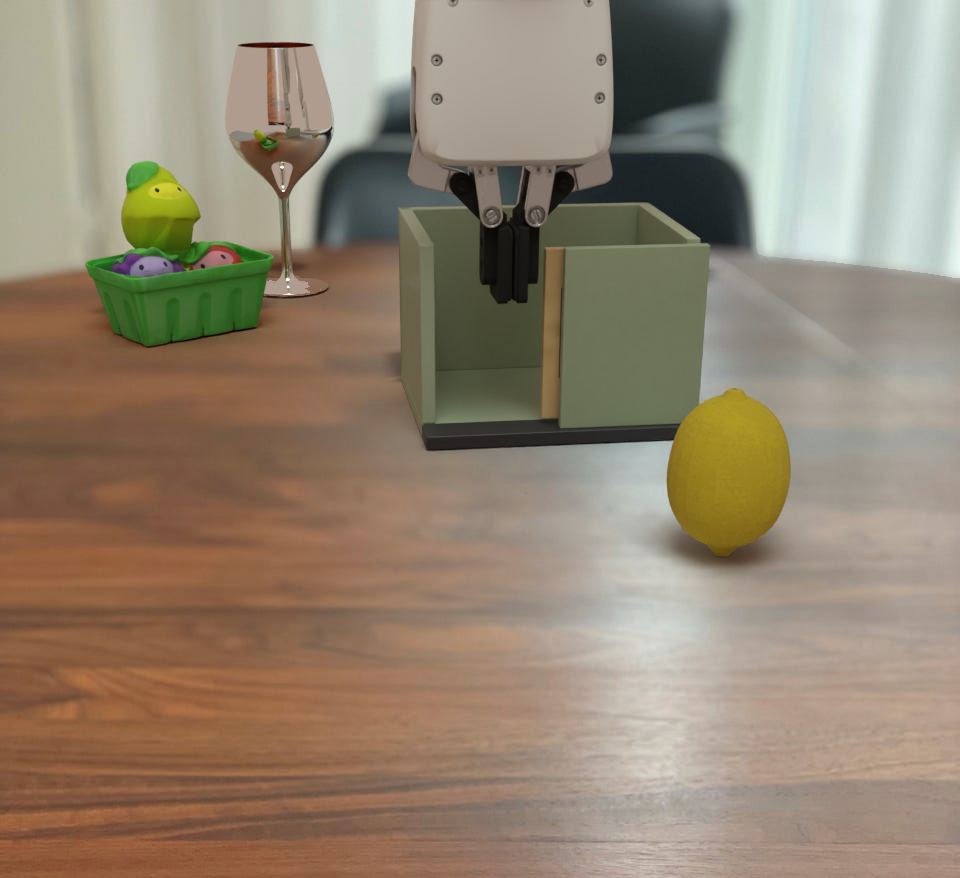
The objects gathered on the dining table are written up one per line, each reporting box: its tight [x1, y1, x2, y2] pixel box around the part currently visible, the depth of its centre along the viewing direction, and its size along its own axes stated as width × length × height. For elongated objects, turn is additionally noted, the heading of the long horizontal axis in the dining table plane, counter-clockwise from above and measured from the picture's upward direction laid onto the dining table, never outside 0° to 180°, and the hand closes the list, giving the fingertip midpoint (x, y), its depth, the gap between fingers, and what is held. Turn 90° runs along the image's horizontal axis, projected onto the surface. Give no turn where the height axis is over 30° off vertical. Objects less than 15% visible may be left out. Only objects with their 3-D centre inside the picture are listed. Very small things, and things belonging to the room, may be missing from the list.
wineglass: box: [224, 41, 335, 296], centre depth 115 cm, size 8×8×18 cm
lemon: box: [666, 387, 792, 557], centre depth 68 cm, size 6×6×8 cm
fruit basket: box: [84, 160, 274, 347], centre depth 105 cm, size 11×9×11 cm
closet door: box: [540, 247, 564, 419], centre depth 83 cm, size 8×1×10 cm, turn 99°
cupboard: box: [397, 201, 711, 451], centre depth 88 cm, size 16×14×11 cm
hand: (508, 297), depth 81 cm, fingers closed
